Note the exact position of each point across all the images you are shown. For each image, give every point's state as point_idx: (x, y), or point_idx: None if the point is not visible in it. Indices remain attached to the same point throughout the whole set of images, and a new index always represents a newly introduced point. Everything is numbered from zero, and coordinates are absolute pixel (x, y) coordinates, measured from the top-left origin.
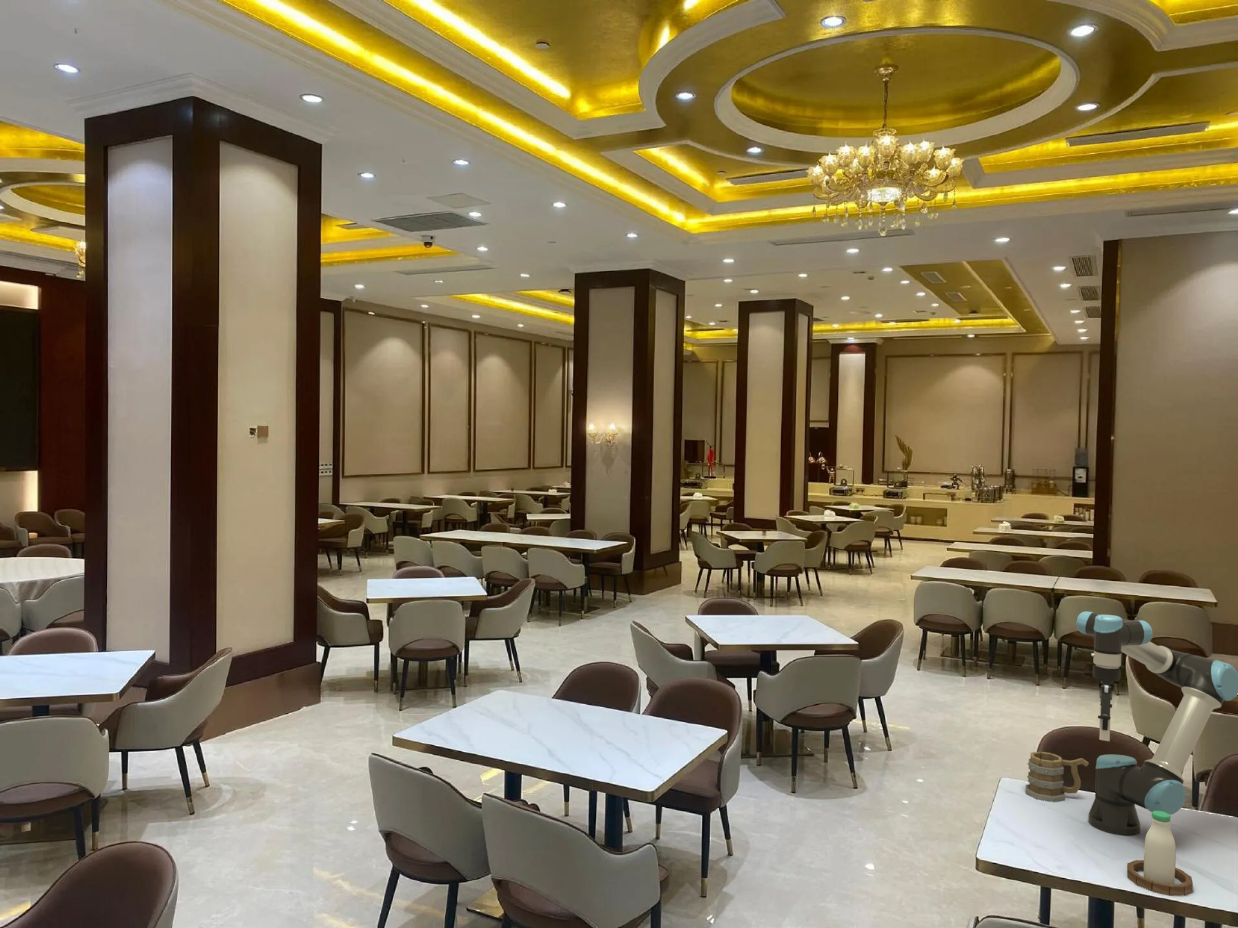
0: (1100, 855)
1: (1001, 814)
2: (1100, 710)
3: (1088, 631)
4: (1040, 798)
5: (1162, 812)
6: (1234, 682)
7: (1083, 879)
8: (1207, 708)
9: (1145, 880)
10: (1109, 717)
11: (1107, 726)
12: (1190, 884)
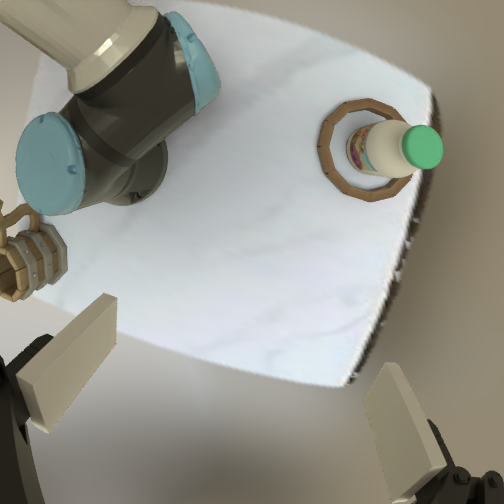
0: (282, 220)
1: (156, 342)
2: (61, 416)
3: None
4: (66, 266)
5: (419, 140)
6: None
7: (386, 274)
8: None
9: (403, 186)
10: (499, 481)
11: (441, 439)
12: (399, 114)
